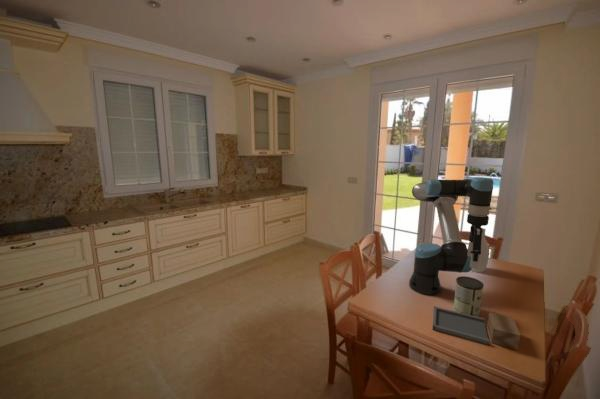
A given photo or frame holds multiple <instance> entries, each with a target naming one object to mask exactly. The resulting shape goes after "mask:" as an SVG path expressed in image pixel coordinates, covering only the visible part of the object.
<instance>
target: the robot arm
mask: <svg viewBox="0 0 600 399" xmlns="http://www.w3.org/2000/svg"><path fill="white" fill-rule="evenodd" d="M493 190H494V180H493V179H492V178H490V177H473V178H464V179H438V178H436V179H435V178H434V179H428V180H426V181H425V182H419V183H417V184H415V185H414V186H412V189H411V194H412V196H413V198H415V200H418V201H421V202H426V203H430V202H431V203H432V204H433V207H435V208H436V211H437V217H438V222H439V227H440V232H441V238H442V242H443V243H442V244H441V245H439V244H437V243H432V242H424V243H420V244H419V245H417V246H416V247H415V251H414V266H413V272H412V274H411V277H410V279H409V282H408V286H409V287H410V289H411V290H412V291H414V292H416V293H419V294H422V295H428V296H435V295H439V294H440V293H441V290H442V285H441V282H440V278H439V272H451V273H459V274H460V273H469V272H471V269H472V268H475V269H478V264H479V256H480V254H481V239H482V232H483V229H482V228H483V226H484V227H485V226H488V225H489V220H490V217H489V215H490V211H492V209H493V208H492V207H491V202H492V198H493ZM459 197H467V198H468V199H469V200H468V201H469V202H468V208H467V216H466V217H467V218H466V222H467V224H470V225H471V226H470V231H469V232H470V233H469V237H468V239H469V240H468V241H469V242H468V246H469V247H467V244H466V243H465V242H463V241H462V236H461V232H460V227H459V223H458V219H457V215H456V211H455V204H456V202H457V201H458V198H459ZM475 250H477V251H475Z"/></svg>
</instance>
